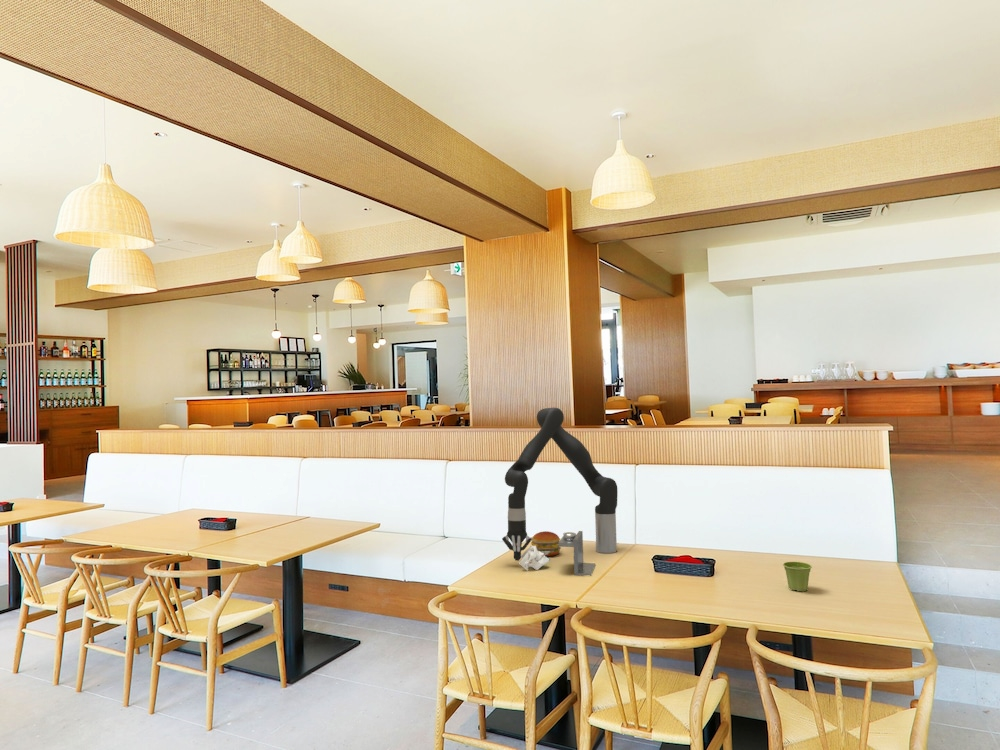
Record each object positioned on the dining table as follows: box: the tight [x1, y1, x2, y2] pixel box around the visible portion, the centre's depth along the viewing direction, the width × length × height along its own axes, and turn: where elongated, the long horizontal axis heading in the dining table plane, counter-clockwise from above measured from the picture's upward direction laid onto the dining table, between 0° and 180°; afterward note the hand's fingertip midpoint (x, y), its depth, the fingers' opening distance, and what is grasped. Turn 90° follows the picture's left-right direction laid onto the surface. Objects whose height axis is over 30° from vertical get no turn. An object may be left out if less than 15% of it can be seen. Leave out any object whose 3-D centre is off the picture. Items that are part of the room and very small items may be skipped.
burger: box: [530, 530, 562, 557], centre depth 288 cm, size 13×14×10 cm
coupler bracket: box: [559, 530, 596, 577], centre depth 262 cm, size 16×12×14 cm
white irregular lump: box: [518, 544, 551, 572], centre depth 266 cm, size 12×9×10 cm
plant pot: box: [782, 561, 813, 592], centre depth 230 cm, size 9×9×9 cm
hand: (517, 560), depth 269 cm, fingers closed
